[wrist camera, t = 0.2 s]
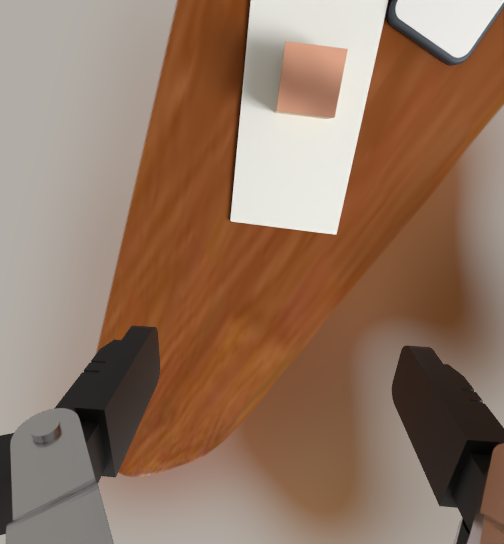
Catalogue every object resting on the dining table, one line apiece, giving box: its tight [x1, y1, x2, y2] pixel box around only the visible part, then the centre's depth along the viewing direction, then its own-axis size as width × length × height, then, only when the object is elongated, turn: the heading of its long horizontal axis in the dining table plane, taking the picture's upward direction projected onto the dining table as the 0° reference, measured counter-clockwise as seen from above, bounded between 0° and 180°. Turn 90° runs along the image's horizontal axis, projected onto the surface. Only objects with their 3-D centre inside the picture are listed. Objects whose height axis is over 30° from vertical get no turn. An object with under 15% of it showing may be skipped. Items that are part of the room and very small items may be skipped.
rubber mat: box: [230, 0, 388, 235], centre depth 33 cm, size 25×12×1 cm, turn 173°
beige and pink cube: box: [276, 41, 348, 119], centre depth 30 cm, size 5×5×5 cm
